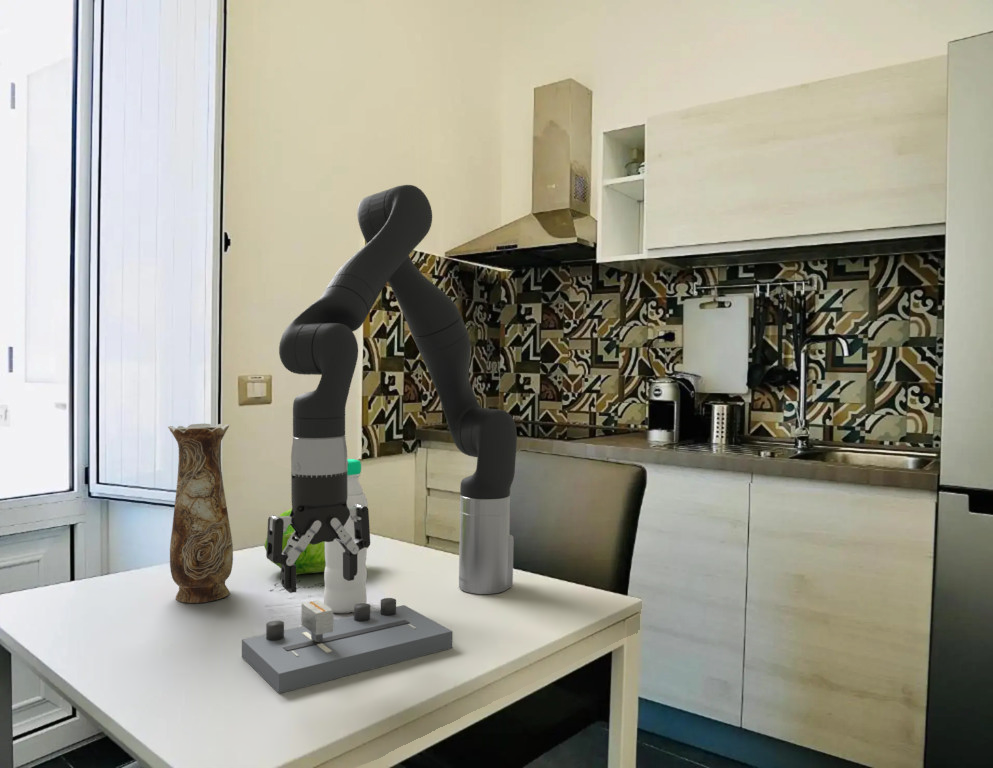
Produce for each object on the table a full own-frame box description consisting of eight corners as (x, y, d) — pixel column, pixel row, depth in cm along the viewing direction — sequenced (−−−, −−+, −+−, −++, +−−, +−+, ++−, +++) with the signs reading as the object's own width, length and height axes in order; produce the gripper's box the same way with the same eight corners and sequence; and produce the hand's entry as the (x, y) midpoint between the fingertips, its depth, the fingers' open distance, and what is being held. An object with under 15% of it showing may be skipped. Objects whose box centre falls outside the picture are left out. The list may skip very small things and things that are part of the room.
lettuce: (373, 578, 142) (374, 508, 141) (263, 586, 136) (264, 512, 136) (363, 558, 156) (364, 494, 156) (264, 564, 151) (264, 497, 150)
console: (403, 620, 119) (404, 592, 119) (452, 647, 108) (452, 617, 108) (241, 656, 103) (241, 624, 103) (278, 693, 92) (279, 657, 92)
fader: (318, 632, 105) (318, 599, 105) (333, 643, 101) (333, 609, 101) (301, 635, 104) (301, 602, 104) (315, 647, 100) (316, 612, 100)
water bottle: (356, 616, 121) (358, 463, 120) (316, 612, 122) (318, 461, 121) (372, 602, 128) (374, 458, 127) (334, 599, 129) (335, 456, 128)
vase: (206, 608, 123) (207, 428, 123) (154, 601, 126) (154, 426, 126) (245, 590, 133) (246, 424, 132) (195, 583, 136) (196, 421, 136)
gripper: (354, 461, 109) (354, 570, 110) (258, 470, 100) (259, 588, 101) (378, 467, 103) (379, 582, 104) (279, 477, 94) (280, 603, 95)
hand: (320, 585), depth 102 cm, fingers open, 8 cm apart
